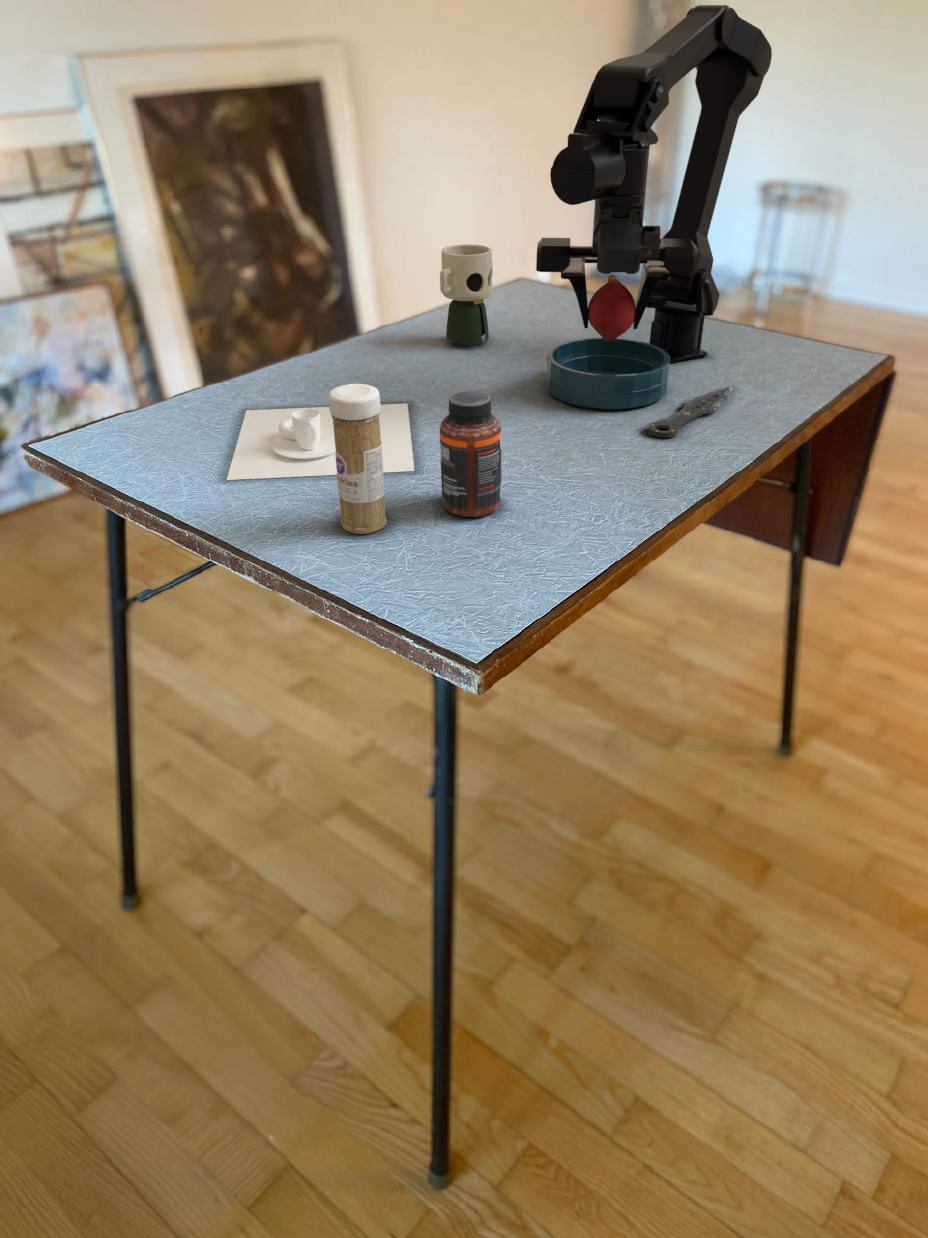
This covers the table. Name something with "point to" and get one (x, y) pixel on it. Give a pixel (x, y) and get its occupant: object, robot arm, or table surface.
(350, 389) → the sprinkles bottle
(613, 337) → the onion
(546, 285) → the table surface
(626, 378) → the bowl
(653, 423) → the throwing knife
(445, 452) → the supplement bottle
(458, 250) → the character mug
